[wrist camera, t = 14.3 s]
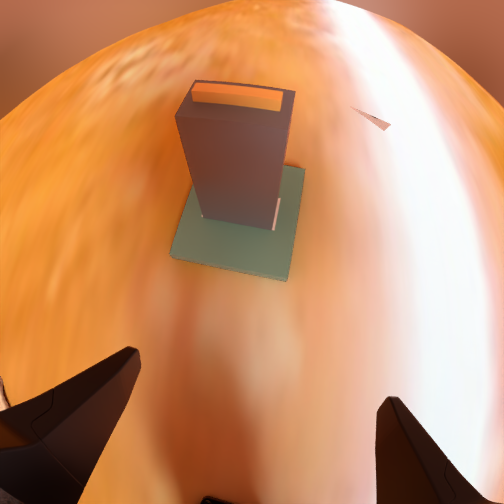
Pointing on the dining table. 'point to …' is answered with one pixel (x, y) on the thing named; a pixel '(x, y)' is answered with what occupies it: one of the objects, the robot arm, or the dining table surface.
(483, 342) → the dining table surface
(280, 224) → the board
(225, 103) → the block
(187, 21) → the dining table surface
